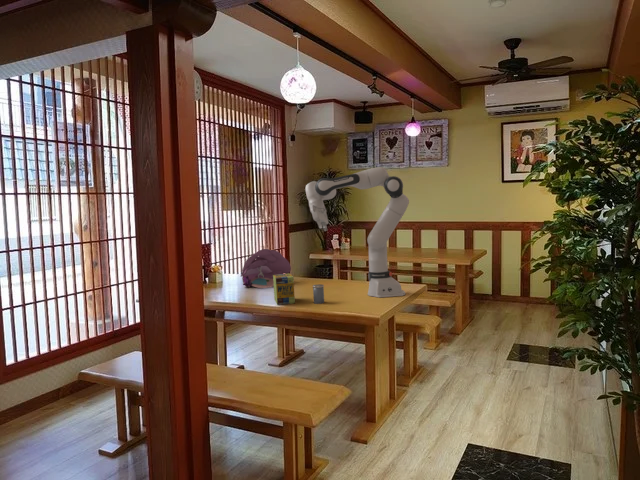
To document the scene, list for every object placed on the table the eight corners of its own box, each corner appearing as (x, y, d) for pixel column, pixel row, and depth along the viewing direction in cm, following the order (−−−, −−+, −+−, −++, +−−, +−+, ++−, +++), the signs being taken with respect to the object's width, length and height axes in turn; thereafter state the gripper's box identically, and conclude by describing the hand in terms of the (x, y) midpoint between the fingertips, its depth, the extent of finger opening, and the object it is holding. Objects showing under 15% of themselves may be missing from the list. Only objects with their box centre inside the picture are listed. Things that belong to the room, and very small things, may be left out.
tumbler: (325, 301, 287) (324, 284, 286) (324, 303, 281) (323, 286, 280) (314, 301, 288) (313, 284, 287) (313, 304, 281) (312, 286, 280)
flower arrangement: (254, 297, 333) (253, 258, 324) (232, 288, 348) (231, 249, 340) (291, 284, 357) (291, 246, 349) (269, 275, 372) (269, 239, 364)
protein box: (277, 305, 284) (275, 278, 282) (274, 299, 299) (272, 274, 297) (295, 303, 286) (293, 276, 284) (291, 298, 301) (290, 273, 299)
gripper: (317, 202, 287) (323, 225, 284) (326, 209, 306) (332, 230, 303) (307, 206, 288) (313, 228, 286) (317, 212, 308) (323, 233, 305)
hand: (323, 229), depth 295 cm, fingers open, 8 cm apart
